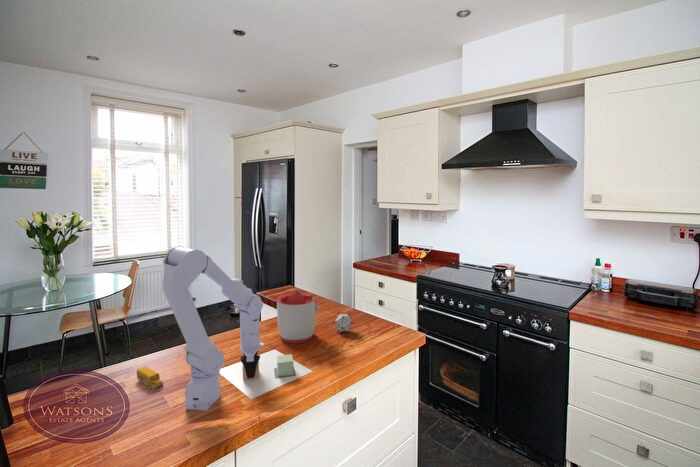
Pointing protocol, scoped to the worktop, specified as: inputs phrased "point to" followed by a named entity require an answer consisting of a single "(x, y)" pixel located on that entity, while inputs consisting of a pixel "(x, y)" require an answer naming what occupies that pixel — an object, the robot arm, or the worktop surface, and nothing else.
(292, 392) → the worktop surface
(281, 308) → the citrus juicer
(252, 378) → the terracotta brick
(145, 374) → the toy bus
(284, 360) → the green brick
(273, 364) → the baseplate
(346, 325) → the game die
